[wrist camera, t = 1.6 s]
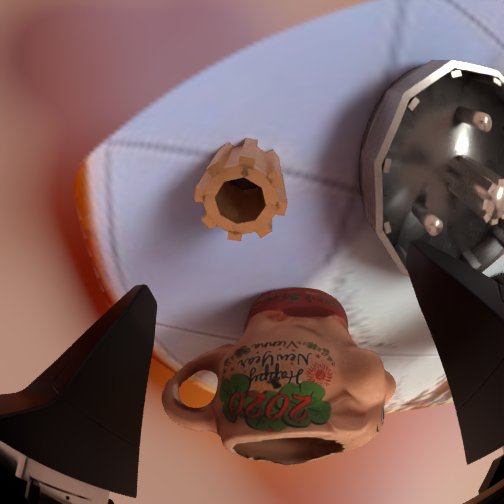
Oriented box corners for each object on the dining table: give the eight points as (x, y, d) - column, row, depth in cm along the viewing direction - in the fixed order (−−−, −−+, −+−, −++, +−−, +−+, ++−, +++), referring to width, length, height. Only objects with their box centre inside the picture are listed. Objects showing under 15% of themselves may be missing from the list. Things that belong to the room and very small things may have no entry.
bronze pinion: (287, 197, 20) (293, 232, 16) (221, 209, 21) (210, 246, 16) (273, 132, 17) (276, 148, 13) (203, 148, 18) (183, 170, 14)
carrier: (500, 244, 21) (529, 278, 16) (361, 274, 23) (380, 324, 19) (514, 78, 11) (560, 91, 6) (341, 58, 14) (375, 49, 9)
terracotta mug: (201, 357, 32) (182, 462, 20) (166, 283, 25) (117, 419, 14) (365, 344, 29) (388, 452, 18) (382, 263, 23) (440, 403, 11)
